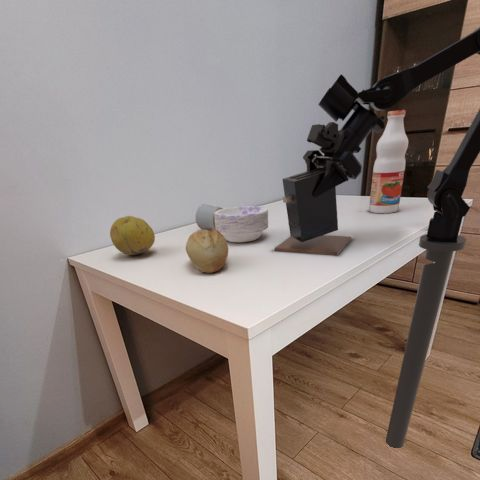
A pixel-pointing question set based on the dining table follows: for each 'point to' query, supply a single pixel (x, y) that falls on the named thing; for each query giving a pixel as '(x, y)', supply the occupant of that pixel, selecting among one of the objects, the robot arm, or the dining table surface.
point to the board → (315, 245)
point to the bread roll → (207, 250)
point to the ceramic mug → (206, 216)
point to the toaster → (309, 206)
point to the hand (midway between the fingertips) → (306, 194)
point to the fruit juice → (389, 165)
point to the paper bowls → (241, 222)
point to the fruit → (132, 235)
